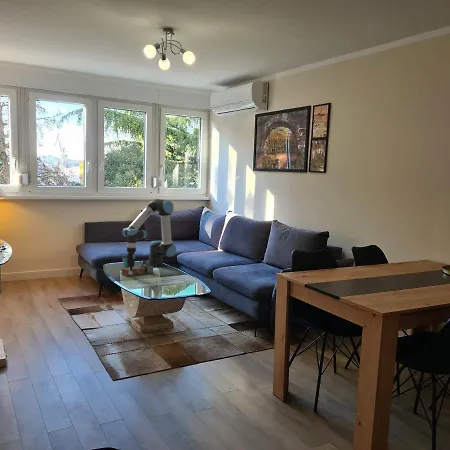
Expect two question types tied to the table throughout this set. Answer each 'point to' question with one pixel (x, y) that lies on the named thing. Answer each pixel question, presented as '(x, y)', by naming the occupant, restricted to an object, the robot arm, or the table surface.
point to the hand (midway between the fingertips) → (130, 274)
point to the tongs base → (132, 268)
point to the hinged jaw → (134, 271)
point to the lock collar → (148, 267)
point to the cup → (124, 261)
